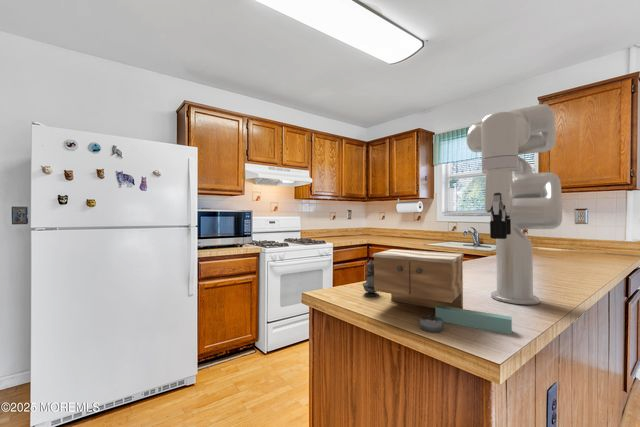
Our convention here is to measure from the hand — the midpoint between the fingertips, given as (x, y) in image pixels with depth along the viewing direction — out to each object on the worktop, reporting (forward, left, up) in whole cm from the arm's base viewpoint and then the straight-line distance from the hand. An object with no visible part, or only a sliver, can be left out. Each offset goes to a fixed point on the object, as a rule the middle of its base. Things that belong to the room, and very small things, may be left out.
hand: (501, 236), depth 71 cm
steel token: (+13, -13, -21) cm, 28 cm away
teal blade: (+5, -6, -22) cm, 23 cm away
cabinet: (+2, -20, -21) cm, 29 cm away
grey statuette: (-6, -38, -21) cm, 44 cm away
